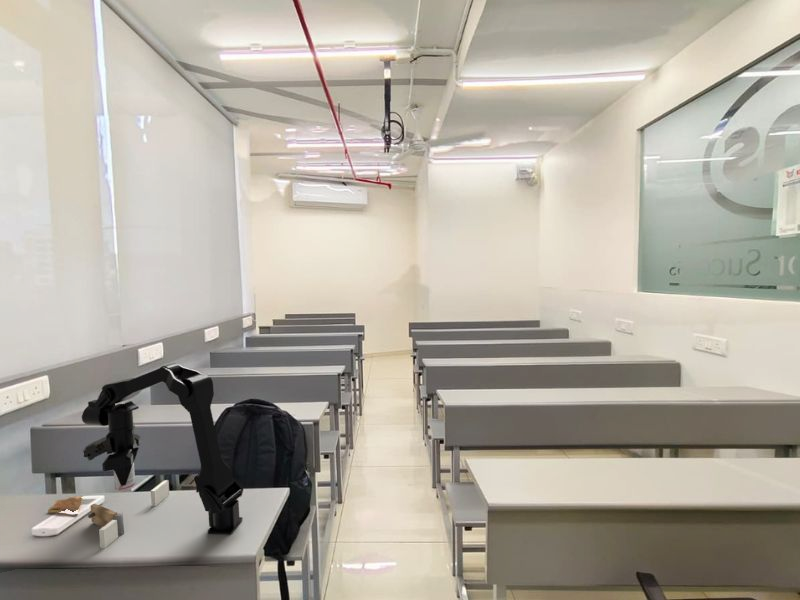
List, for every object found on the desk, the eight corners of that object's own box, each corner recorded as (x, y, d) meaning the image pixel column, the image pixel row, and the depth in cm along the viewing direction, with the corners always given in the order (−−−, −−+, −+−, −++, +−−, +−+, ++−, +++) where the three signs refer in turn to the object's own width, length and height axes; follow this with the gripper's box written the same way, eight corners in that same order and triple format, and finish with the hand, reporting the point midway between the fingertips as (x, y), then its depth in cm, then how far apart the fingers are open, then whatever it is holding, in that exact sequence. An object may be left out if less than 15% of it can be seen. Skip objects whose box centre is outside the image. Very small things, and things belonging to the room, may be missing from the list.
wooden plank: (118, 529, 107) (117, 512, 107) (109, 534, 105) (107, 517, 105) (95, 520, 112) (94, 503, 112) (86, 524, 110) (85, 507, 110)
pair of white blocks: (170, 494, 125) (169, 478, 124) (106, 548, 100) (104, 528, 100) (164, 494, 125) (163, 478, 125) (99, 547, 100) (97, 527, 100)
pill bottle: (139, 483, 117) (137, 454, 117) (125, 492, 112) (122, 462, 112) (125, 482, 118) (123, 453, 118) (110, 490, 114) (108, 460, 113)
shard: (78, 517, 115) (78, 511, 115) (42, 526, 111) (42, 520, 111) (84, 499, 124) (83, 494, 124) (51, 507, 120) (51, 501, 120)
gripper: (93, 421, 119) (97, 474, 120) (75, 444, 103) (80, 505, 103) (139, 414, 124) (142, 465, 125) (128, 435, 107) (133, 493, 108)
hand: (125, 481), depth 115 cm, fingers closed on pill bottle, 5 cm apart
